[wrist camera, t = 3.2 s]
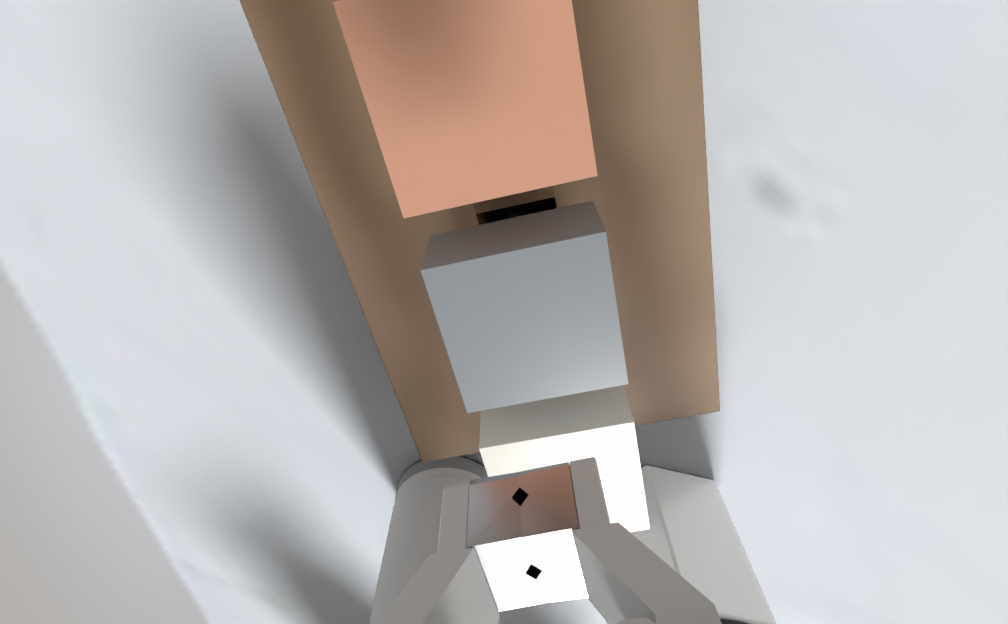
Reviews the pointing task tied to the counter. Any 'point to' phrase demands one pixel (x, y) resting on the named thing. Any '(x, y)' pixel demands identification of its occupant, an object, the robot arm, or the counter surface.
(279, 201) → the counter surface
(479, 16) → the key terracotta
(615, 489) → the cream block
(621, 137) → the keypad base
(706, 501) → the jar
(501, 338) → the key slate
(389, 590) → the travel mug
